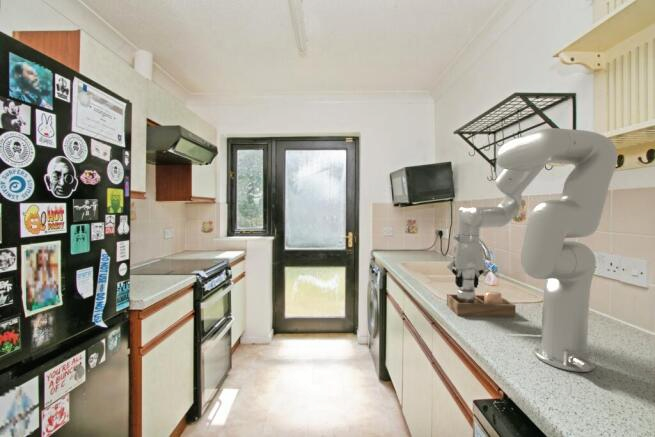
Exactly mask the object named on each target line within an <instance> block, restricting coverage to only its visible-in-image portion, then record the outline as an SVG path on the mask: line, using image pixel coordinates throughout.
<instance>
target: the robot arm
mask: <svg viewBox="0 0 655 437" xmlns="http://www.w3.org/2000/svg"><path fill="white" fill-rule="evenodd" d="M618 154H619V153H618V150H617V147H616V145H615V144H614V142H613V141H612V140H611V139H610V138H608V137H607V136H606V135H603V134H601V133H598V132H594V131H589V130H583V129H571V128H570V129H568V128H557V127H556V128H555V127H550V128H544V129H540V130H537V131H534V132H531V133H528V134H525V135H521V136H518V137H515V138H513V139H509V140H508V141H507V142H505V143H503V145H502V146H501V147H500V148H499V150H498V151H497V154H496V163H497V165H498V166H499V168H502V169H503V170H502V171H501V172H500V174H499V175H498V176H497V177H496V178H495V186H496V188H497V189H498V190H499V191H500V192H501V193H502V194H504V195H505V196H504V198H502V200H501V201H500V203H499V204H498V205H497V206H492V205H491V206H489V205H488V206H484V205H483V206H461V207H460V208H458V211H457V234H456V235H454V236H453V240H455V241H456V242H455V243H454V246H453V253H452V260H451V261H450V262H449V263H448V264H447V266H446V268H447V269H448V270H449V271H451V272H452V274H453V275H454V276H455V278H454V279H455V283H454V284H455V285H456V286H457V287H458V288H459V287H461V280H462V278H461V277H460V275H461V272H462V270H466V269H467V268H466V265H467V264H468V263H470V262H472V263H473V264H474V265H475V269H474V270H476V274H475V282H474V284H475V289H477V288H478V286H479V278H480V277H481V275H483V273H484V272H486V271H487V270H488V269H489V267H488V266H487V265H486V263H485V262H484V250H483V245H482V243H480V232H481V231H480V229H482V228H484V229H487V228H489V229H490V228H501V227H504V226H506V225H507V224H509V223H510V222H511V221H512V219H514V217H515V216H516V215H517V214H518V213H519V212H520V209H521V205H522V202H523V196H522V194H523V192H524V191H525V190H526V189H527V187H528V186H530V184H531V183H533V181H534V179H535V178H536V177H537V176H538V175H539V174H540V173H541V171H542V170H543V169H544V168H545V167H546V166H547V164H560V165H561V164H564V165H565V164H567V165H573V166H574V168H573V169H572V170H571V172H570V173H569V174H568V175H567V177H566V179H565V181H564V184H563V189H562V192H561V196H560V198H559V199H549V200H545V201H541V202H540V203H539V204H537V205H536V206H535V207H534V208H533V209H532V210H531V212H530V214H529V216H528V219H527V224H526V229H525V233H524V237H523V242H522V247H521V253H520V263H521V267H522V268H523V270H524V272H525V273H526V274H527V275H528V276H530V277H531V278H533V279H537V280H546V282H545V284H544V287H543V293H542V312H541V314H542V315H541V339H540V340H541V342H540V344H539V345H535V347H534V348H533V353H534V354H533V355H534V356H535V357H536V358H538V360H540V361H542V362H544V363H545V364H547V365H549V366H552V367H556V368H558V369H562V370H565V371H571V372H578V373H580V372H581V373H585V372H586V373H587V372H591V371H593V370H594V368H596V366H597V365H596V363H595V362H594V360H593V359H591V357H590V352H589V351H588V335H589V334H588V333H589V332H588V330H589V311H590V310H589V309H590V296H591V286H592V281H593V278H594V274H595V271H596V267H597V259H596V256H595V253H594V251H593V250H592V249H591V248H590V247H589V246H587V245H586V244H585V243H582V242H579V241H574V240H565V239H572V238H573V239H575V238H585V237H586V238H587V237H589V236H591V235H593V234H595V232H596V231H597V230H598V228H599V225H600V223H601V218H602V215H603V211H604V207H605V203H606V201H607V196H608V191H609V187H610V184H611V180H612V179H613V178H612V177H613V175H614V173H615V170H616V167H617V163H618Z"/></svg>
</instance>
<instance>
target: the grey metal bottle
mask: <svg viewBox="0 0 655 437" xmlns="http://www.w3.org/2000/svg"><path fill="white" fill-rule="evenodd" d="M466 268H467V269H466V270H462V272H461V275H460V277H461V278H462V280H461V287H458V288H457V291H456V292H457V293H456V295H457V299H458V300H459V301H460V302H462V303H474V302H475V299H476V295H477V294H476V288H475V284H474V282H475V274H476V270H474V269H475V265H474V264H473V263H472V262H470V263H468V264H467V265H466Z"/></svg>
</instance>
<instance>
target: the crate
mask: <svg viewBox="0 0 655 437" xmlns="http://www.w3.org/2000/svg"><path fill="white" fill-rule="evenodd" d="M475 295H476V299H475V302H474V303H462V302H460V301H459V300H458V299H457V294H451V293H449V294H446V306H447V307H448V308H449V309H450V310H451V311H452V312H453V313H454V314H455V315H456V316H459V317H485V318H489V317H490V318H516V304H514V303H512V302H510V301H509V300H507V299H506V298H504V297H503V296H501V304H486V303H485V302H484V294H480V295H479V294H475Z"/></svg>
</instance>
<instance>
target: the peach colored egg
mask: <svg viewBox="0 0 655 437" xmlns="http://www.w3.org/2000/svg"><path fill="white" fill-rule="evenodd" d="M483 295H484V302H485V303H486V304H501V297H502V293H501V292H497V291H493V290H486V291H484V294H483Z"/></svg>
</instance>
